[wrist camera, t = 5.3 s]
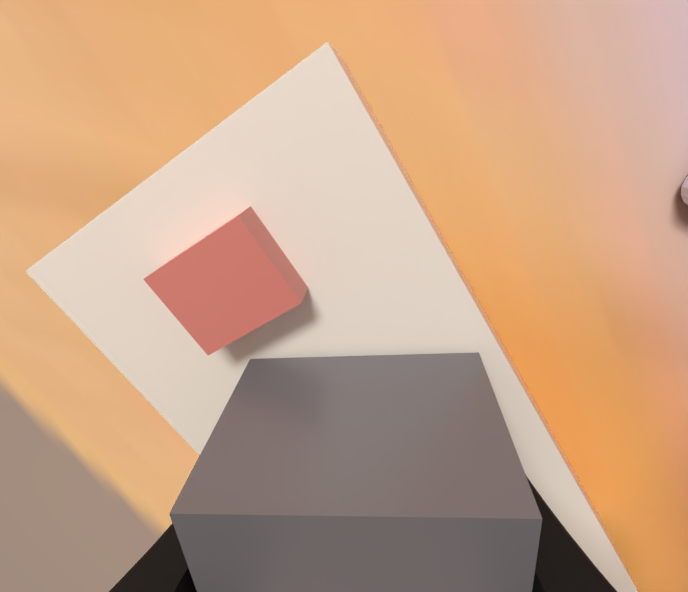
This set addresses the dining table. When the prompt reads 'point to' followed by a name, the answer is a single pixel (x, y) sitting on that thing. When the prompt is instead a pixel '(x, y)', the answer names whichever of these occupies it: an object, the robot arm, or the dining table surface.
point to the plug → (360, 482)
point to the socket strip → (291, 273)
